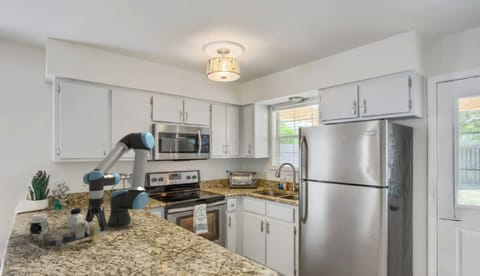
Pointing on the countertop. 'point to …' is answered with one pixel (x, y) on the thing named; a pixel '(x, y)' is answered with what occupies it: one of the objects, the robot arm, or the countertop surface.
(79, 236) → the light grey upright block
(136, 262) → the countertop surface
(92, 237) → the block
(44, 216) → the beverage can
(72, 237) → the rack
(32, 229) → the pneumatic valve
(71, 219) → the medicine bottle
